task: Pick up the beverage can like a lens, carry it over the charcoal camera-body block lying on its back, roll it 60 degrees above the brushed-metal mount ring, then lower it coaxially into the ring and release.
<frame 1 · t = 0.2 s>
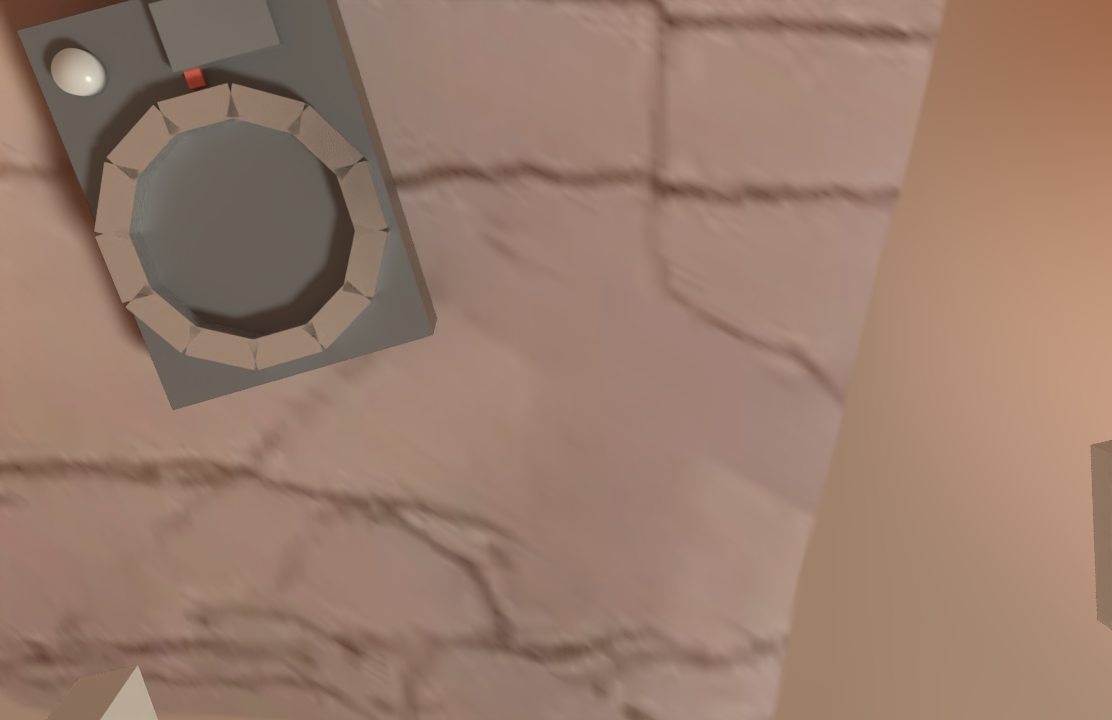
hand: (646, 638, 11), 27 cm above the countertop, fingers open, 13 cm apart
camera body: (264, 191, 35), on the countertop
mount ring: (276, 224, 35), resting on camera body
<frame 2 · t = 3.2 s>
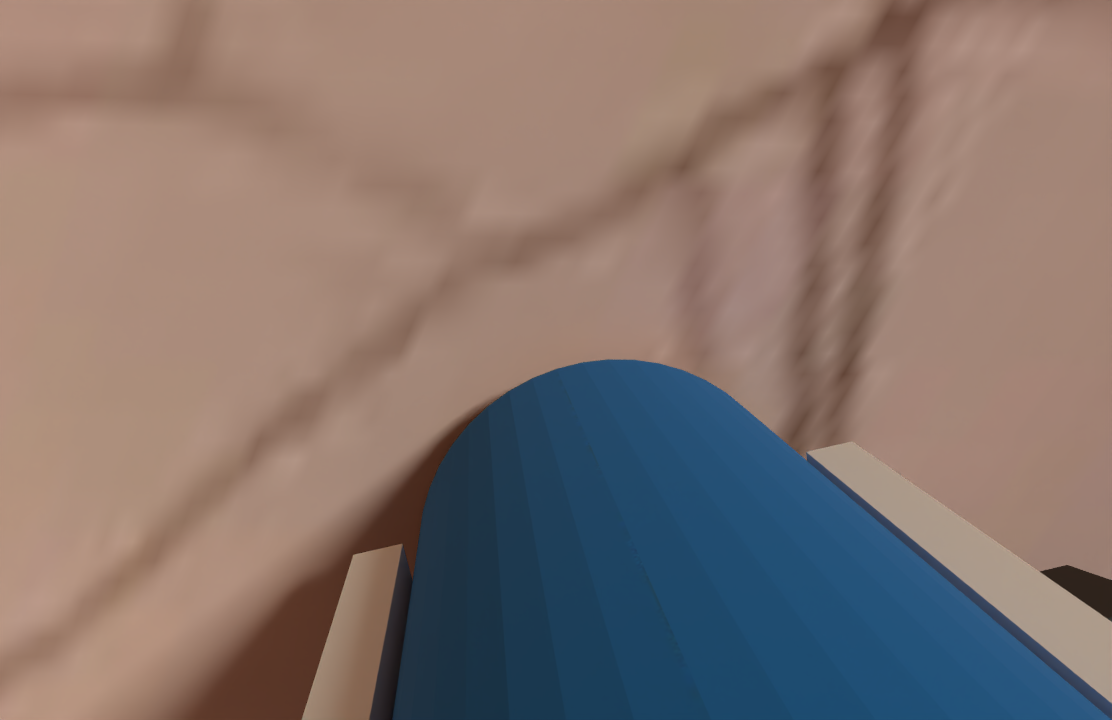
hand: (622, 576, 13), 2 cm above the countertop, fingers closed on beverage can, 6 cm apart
beverage can: (601, 519, 15), on the countertop, touching gripper
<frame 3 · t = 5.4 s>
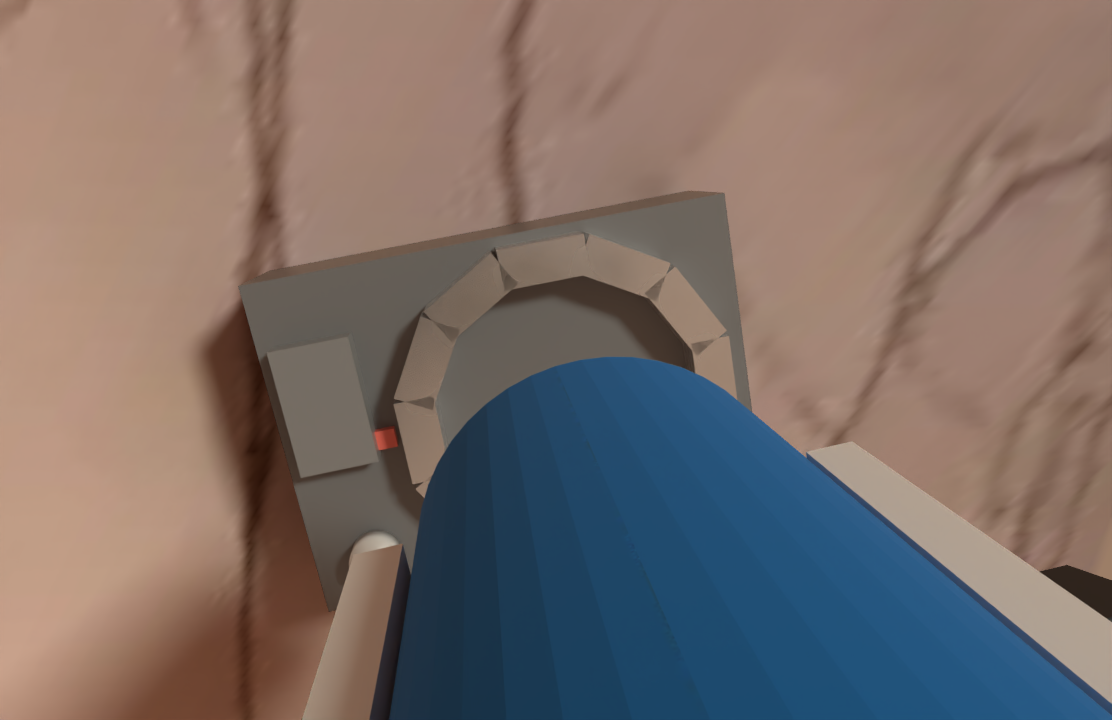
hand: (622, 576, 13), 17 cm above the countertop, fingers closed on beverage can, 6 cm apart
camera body: (512, 378, 30), on the countertop
beverage can: (600, 516, 15), point 15 cm above the countertop, touching gripper
mount ring: (552, 370, 30), resting on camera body
when the fingers open (7 cm above the countertop, at t = 7.8 s): beverage can drops 1 cm, resting on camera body.
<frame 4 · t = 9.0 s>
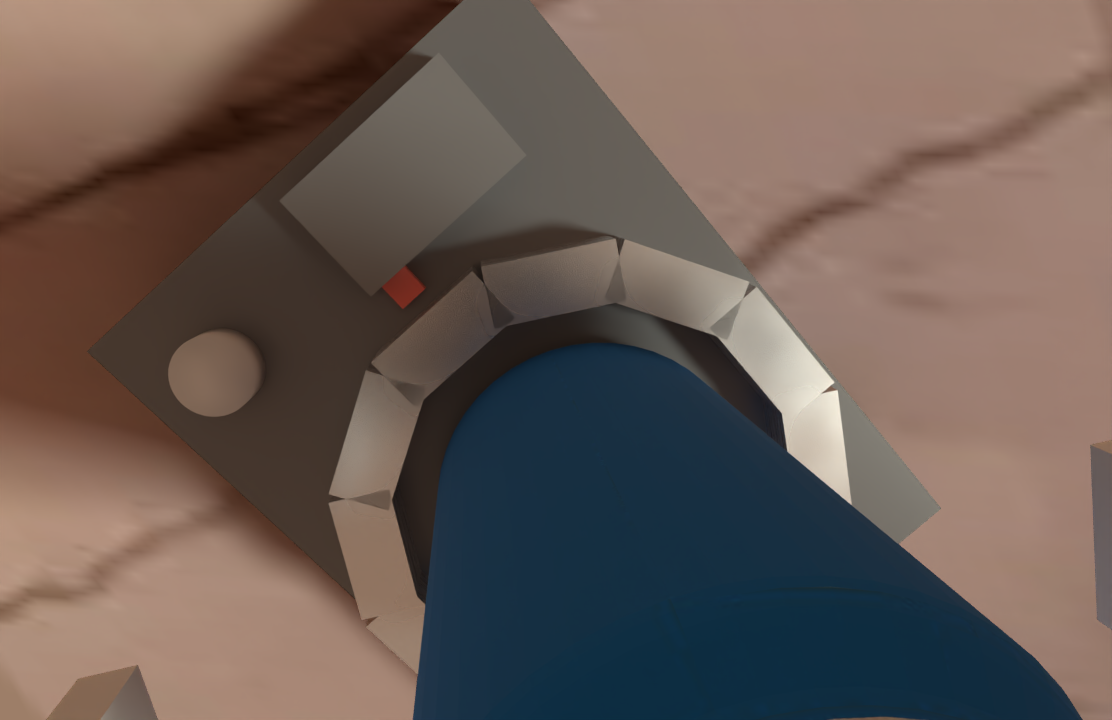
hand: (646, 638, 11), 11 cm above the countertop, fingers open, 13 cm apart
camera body: (533, 389, 21), on the countertop
beverage can: (588, 478, 18), point 4 cm above the countertop, touching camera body
mount ring: (570, 430, 21), resting on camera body
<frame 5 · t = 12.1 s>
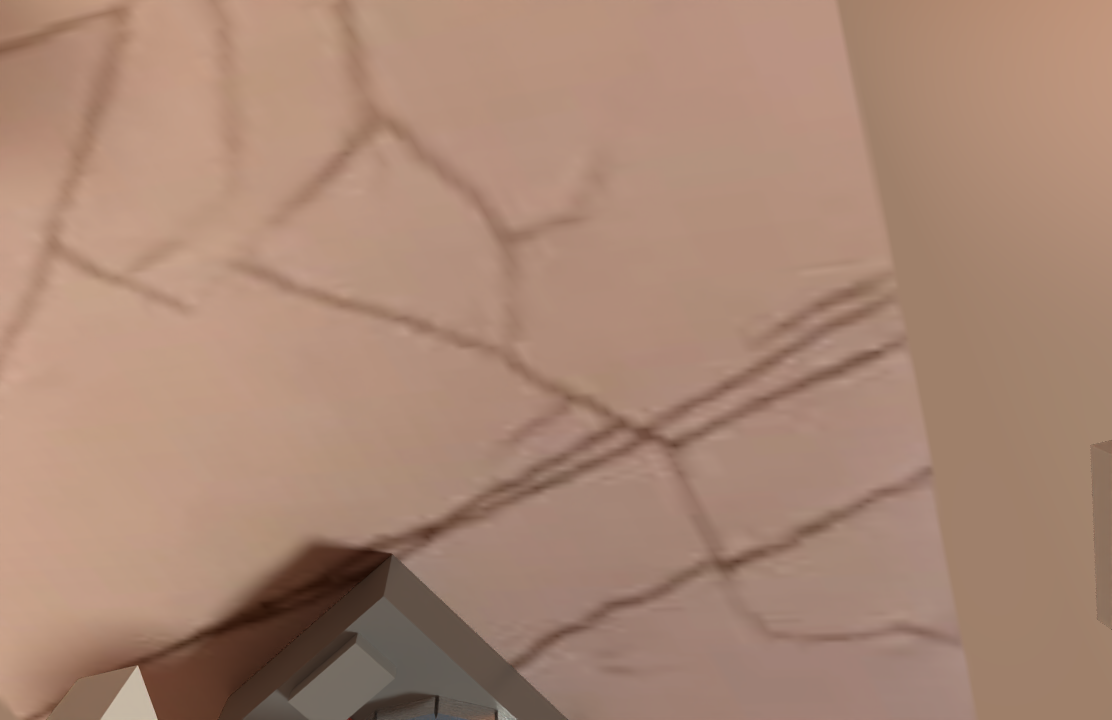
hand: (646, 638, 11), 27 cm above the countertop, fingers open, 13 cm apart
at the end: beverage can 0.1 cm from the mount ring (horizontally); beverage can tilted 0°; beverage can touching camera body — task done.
